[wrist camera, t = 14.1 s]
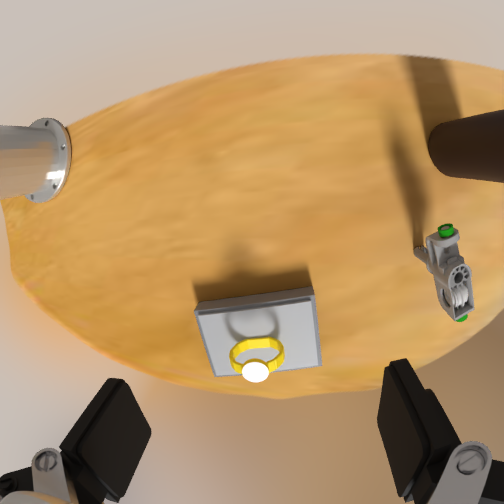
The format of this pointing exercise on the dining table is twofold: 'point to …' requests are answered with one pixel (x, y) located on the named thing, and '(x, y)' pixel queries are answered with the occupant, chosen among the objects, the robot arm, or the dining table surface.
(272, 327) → the stand
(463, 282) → the mechanical component
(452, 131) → the bottle
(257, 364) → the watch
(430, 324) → the dining table surface
